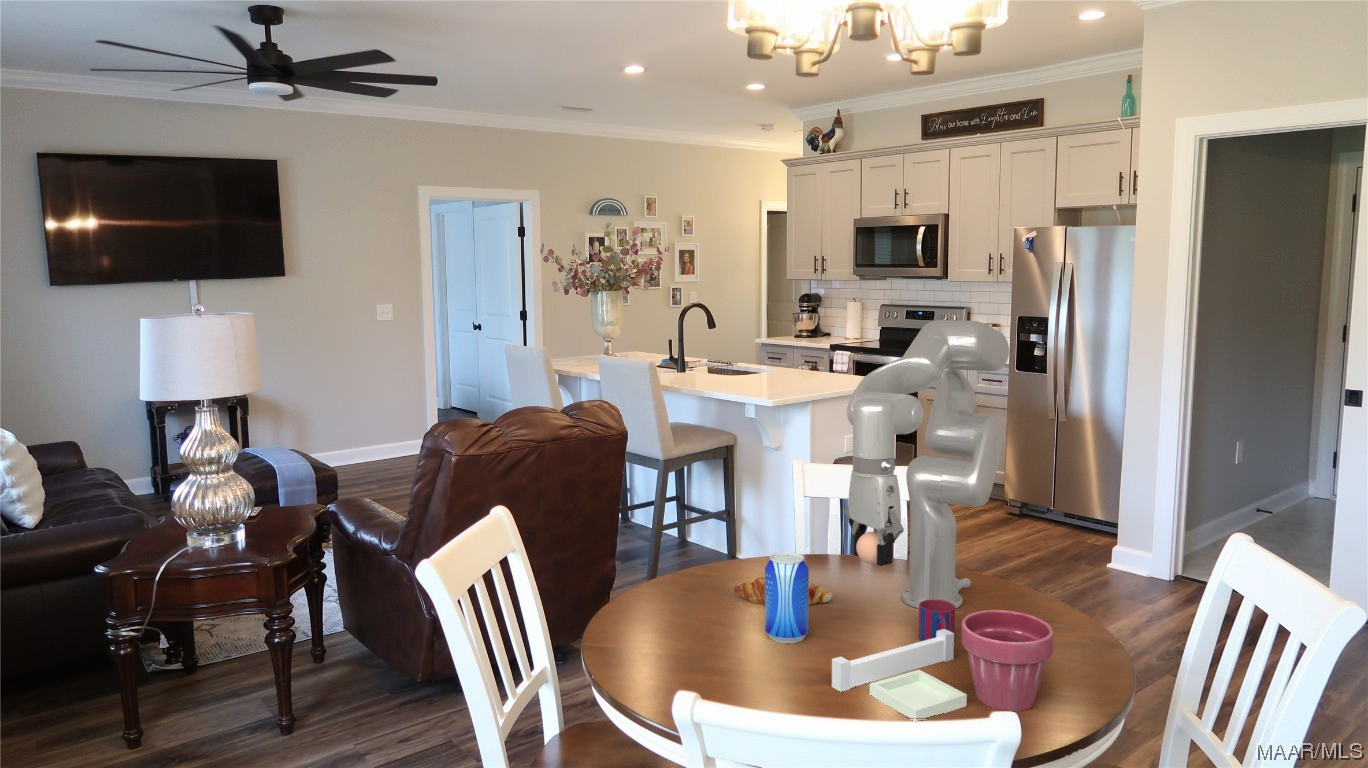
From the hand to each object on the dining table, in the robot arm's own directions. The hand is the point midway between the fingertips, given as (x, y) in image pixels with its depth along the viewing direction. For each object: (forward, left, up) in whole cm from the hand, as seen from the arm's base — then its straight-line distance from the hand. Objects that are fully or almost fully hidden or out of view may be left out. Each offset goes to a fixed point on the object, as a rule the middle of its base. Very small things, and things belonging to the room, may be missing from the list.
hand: (872, 558), depth 171 cm
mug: (-12, +5, -17) cm, 22 cm away
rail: (+4, +11, -17) cm, 21 cm away
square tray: (+8, +21, -17) cm, 28 cm away
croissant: (+1, -28, -18) cm, 33 cm away
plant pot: (-5, +28, -17) cm, 33 cm away
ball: (0, 0, -1) cm, 1 cm away
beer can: (+11, -12, -17) cm, 24 cm away
